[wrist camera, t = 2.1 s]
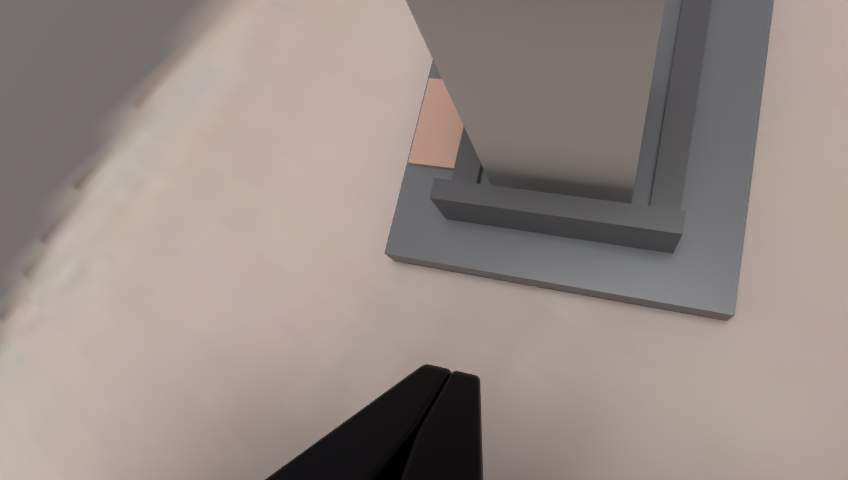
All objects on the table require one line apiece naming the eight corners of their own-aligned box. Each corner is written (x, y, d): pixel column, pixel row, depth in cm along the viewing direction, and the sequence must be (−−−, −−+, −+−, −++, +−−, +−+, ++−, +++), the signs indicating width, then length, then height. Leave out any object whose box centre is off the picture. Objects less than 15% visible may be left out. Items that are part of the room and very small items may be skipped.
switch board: (727, 320, 17) (752, 302, 14) (394, 260, 20) (362, 236, 17) (780, -102, 20) (810, -186, 17) (482, -98, 23) (466, -169, 20)
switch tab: (632, 209, 17) (675, -36, 8) (490, 190, 19) (381, -42, 9) (653, 79, 18) (715, -285, 9) (517, 69, 19) (441, -258, 10)
